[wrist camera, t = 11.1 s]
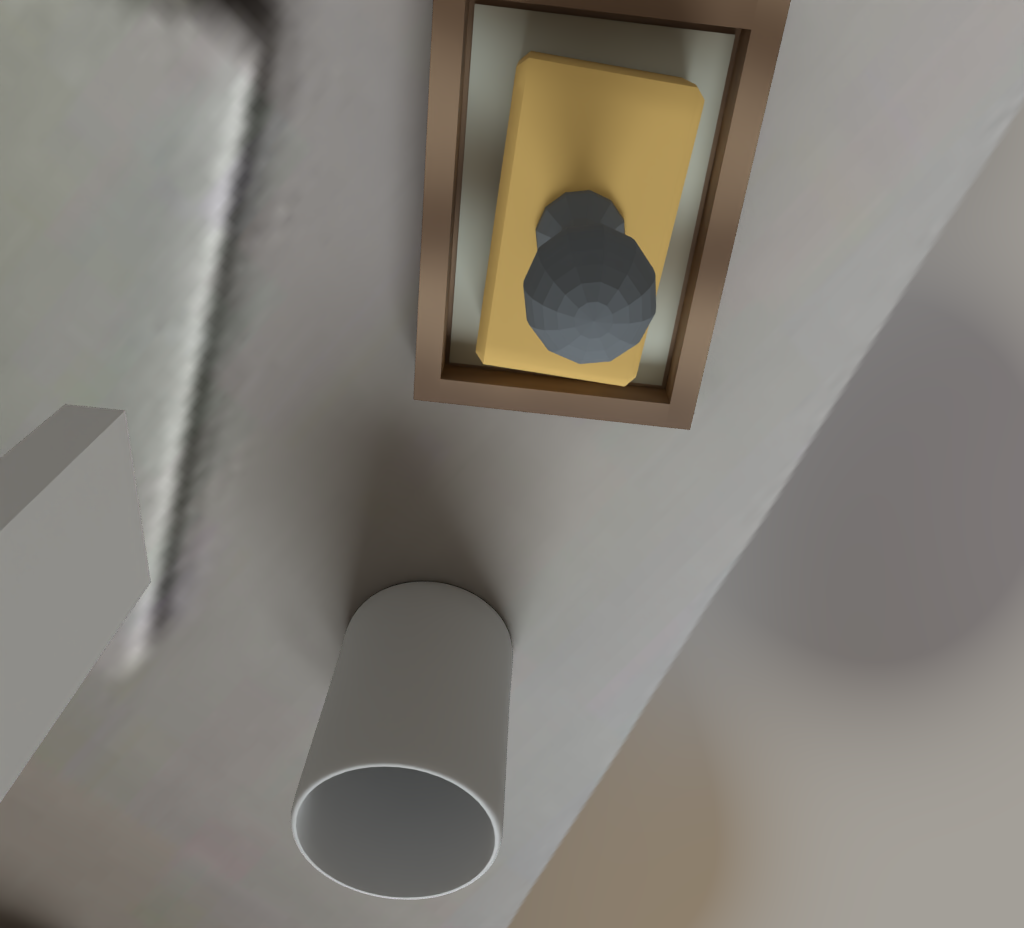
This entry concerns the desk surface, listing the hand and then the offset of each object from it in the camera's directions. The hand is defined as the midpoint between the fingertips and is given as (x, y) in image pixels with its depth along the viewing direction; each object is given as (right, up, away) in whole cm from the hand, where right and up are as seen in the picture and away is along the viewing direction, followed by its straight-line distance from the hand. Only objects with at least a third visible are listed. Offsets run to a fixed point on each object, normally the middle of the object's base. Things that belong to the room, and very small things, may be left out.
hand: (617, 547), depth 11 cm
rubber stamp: (+1, +10, +19) cm, 22 cm away
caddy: (+1, +11, +20) cm, 23 cm away
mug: (-6, -9, +32) cm, 34 cm away
